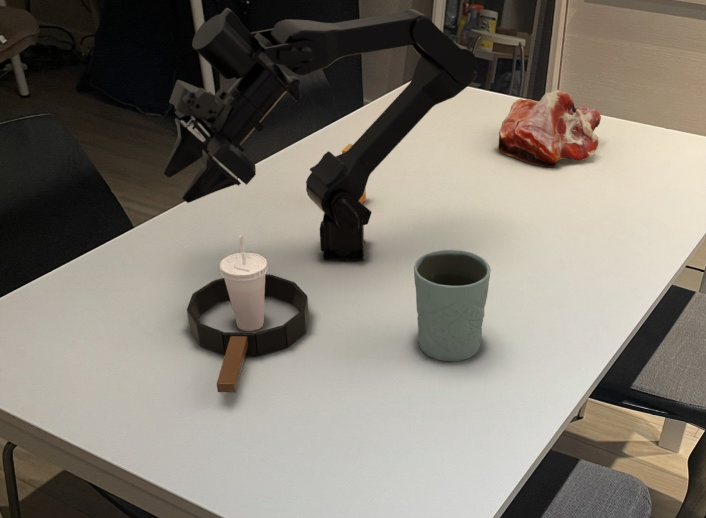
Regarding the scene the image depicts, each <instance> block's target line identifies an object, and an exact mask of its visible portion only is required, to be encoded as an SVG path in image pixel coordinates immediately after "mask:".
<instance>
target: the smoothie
mask: <svg viewBox="0 0 706 518" xmlns="http://www.w3.org/2000/svg"><path fill="white" fill-rule="evenodd" d="M238 238H239V245H240V252H237V253H232V254H230V255H227V256H225V257H223V258H222V260H221V261H220V262H219V272H220V275H221V276H222V278H224V279H225V283H226V286H227V290H228V294H229V297H230V300H229V301H230V303H231V308H232V311H233V316H234V319H235V322H236V325H237V328H238V329H239V330H241V331H245V332H253V331H257V330H259V329H261V328H263V327H264V322H265V297H266V296H265V274H267V272H268V270H269V266H268V262H267V259H266V258H265V257H264V256H262V255H261V254H258V253H256V252H246V246H245V245H246V244H245V237H244V234H239V235H238Z"/></svg>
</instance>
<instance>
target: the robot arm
mask: <svg viewBox="0 0 706 518" xmlns="http://www.w3.org/2000/svg"><path fill="white" fill-rule="evenodd" d="M191 45H192V48H193V49H194V50H195V51H196V53H198V54H199V55H200V56H201V57H202V58H203V59H204V60H205V61H206V62H207V63H208V64H209V65H210V66H211V67H212V68H213V69H215V71H216V72H218V73H219V74H220V75H221V77H223V79H225V80H231V79H236V81H235V83H233V85H232V86H231V87H230V88H229V90H228V91H227V90H226V89H225V88H224V87H223V88H219V89H218V90H217V91H216V93H213V92H212V91H211V90H210V91H207V90H205V89H204V88H203V87H197V86H195V85H193V84H190V83H188V82H186V81H183V80H180V79H177V80H176V82H175V85H174V87H173V91H172V94H171V96H170V99H169V104H170V105H173V106H174V110H175V111H174V114H175V115H176V116H177V117H178V118H179V119H180V120H179V119H178V118H177V117H175V119H174V123H175V125H176V131H177V138H176V141H175V143H174V146H173V148H172V151H171V153H170V156H169V157H168V160H167V162H166V164H165V168H163V169H164V170H163V172H162V173H163V175H164V176H166V177H167V178H169V179H170V178H172V177H174V176H175V175H177V174H179V173H181V172H182V171H183V170H185V169H186V168H188V167H189V166H190V165H192V164H194V163H195V162H197V161H199V160H200V159H201V158H202V165H201V167H200V168H199V170H198V171H197V173H196V175H195V176H194V177H193V178H192V180H191V182H189V185H188V186H187V187H186V189H185V190H184V192H183V194H182V196H181V199H182V200H183V201H184V202H185V203H187V204H190V203H191V202H194V201H197V200H199V199H202V198H204V197H206V196H209V195H211V194H213V193H216V192H218V191H222V190H224V189H228V188H230V187H233V186H235V185H236V186H237V187H239V186H240V185H241V184H242V183H243V184H244V185H246V186H247V185H248V184H249V183H250V182H251V181H252V180H253V179H254V177H256V173H257V171H256V164H255V163H254V162H253V161H252V160H251V159H250V157H248V156H247V155H246V153H244V152H245V147H243V146H242V145H243V143H244V142H245V141H246V140H247V138H248V137H250V135H251V134H252V133H253V131H254V130H256V131H257V132H259V133H261V131H262V130H263V129H264V128H265V126H264V125H263V124H262V123H261V122H262V121H263V120H264V118H265V117H266V116H267V115H268V114H269V113H270V112H271V111H272V109H273V108H274V107H275V106H276V105H277V103H279V101H280V100H281V99H282V98H283V97H284V96H285V94H286V95H288V96H289V97H291V98H292V99H293V100H294V101H295V102H301V92H300V84H301V80H299V78H297V77H295V76H294V75H290V76H289V75H287V74H286V73H285V72H284V71H283V70H282V68H280V67H279V65H280V66H283V67H286V68H287V69H288V70H289V71H291V72H292V73H293V74H295V75H298V76H307V75H310V74H313V73H315V72H318V71H321V70H323V69H326V68H328V67H329V66H330V65H332V64H333V63H335V62H336V61H338V60H339V59H343V58H345V57H350V56H356V55H362V54H367V53H373V52H378V51H383V50H384V51H385V50H390V49H396V48H400V47H407V46H411V47H412V49H413V50H414V51H415V52H416V53H417V54H418V55H419V56H420V57H419V59H418V60H417V63H416V65H415V69H414V71H413V75H412V78H411V80H410V82H409V83H408V85H407V86H406V87H405V88H404V89H403V90H402V91H401V93H399V95H397V97H396V98H395V99H394V100H393V101H392V102H391V103H390V104H389V105H388V106H387V107H386V108H385V110H384V111H382V113H381V114H380V115H379V116H378V117H377V118H376V119H375V120H374V122H372V123H371V125H370V126H369V127H368V128H367V129H366V130H365V131H364V133H362V135H360V136H359V138H358V139H357V140H356V141H355V142H354V143H352V147H351V148H350V149H349V150H348V151H346V152H345V153H343V154H342V153H340V154H338V155H334V154H333V153H332V152H331V151H330V150H329V151H327V152H326V153H324V154H323V155H322V157H321V159H320V160H319V161H318V162H317V164H315V165H313V166H312V167H310V168H309V171H310V174H309V175H308V177H307V178H306V181H305V184H306V185H305V191H306V194H307V196H308V197H309V199H310V200H311V201H312V202H313V204H315V205H316V207H318V208H319V210H321V211H322V212H323V217H322V220H321V221H320V224H319V240H320V241H319V243H320V245H319V247H320V251H321V252H322V259H323V260H324V261H345V262H346V261H349V262H351V261H352V262H363V261H364V260H365V249H366V240H365V226H367V225H369V222H370V219H371V215H372V211H371V209H369V208H368V207H367V206H366V205H365V204H364V203H361V202H360V201H359V200H360V199H361V197H362V196H363V194H364V191H365V188H366V187H367V184H368V181H369V178H370V176H371V174H372V173H373V172H374V171H375V170H376V169H377V168H378V166H379V165H381V163H382V162H383V161H384V160H385V159H386V158H387V157H388V156H389V154H391V152H392V151H394V149H395V148H396V147H397V146H398V145H399V144H400V143H401V142H402V141H403V140H404V139H405V138H406V136H408V134H409V133H410V132H411V131H412V130H414V128H415V127H416V126H417V125H418V123H419V122H421V120H422V119H423V118H424V117H425V116H426V115H427V114H428V113H429V112H430V111H431V110H432V109H433V108H434V107H435V106H436V105H439V104H441V103H444V102H446V101H448V100H451V99H453V98H455V97H456V96H458V95H459V94H460V93H461V92H463V91H464V90H465V89H466V88H468V87H469V86H470V85H471V84H472V83H473V81H474V80H475V79H476V77H477V74H478V72H477V69H478V61H477V57H476V55H475V54H474V53H473V52H472V50H470V49H468V48H466V47H465V46H462V45H460V44H459V43H458V42H457V43H456V42H455V41H453V40H452V39H451V38H450V37H449V36H447V34H445V33H444V32H443V31H442V30H441V29H440V28H439V27H438V26H437V25H436V24H435V23H434V22H433V20H432V19H431V18H430V16H428V15H426V14H424V13H422V12H420V11H418V10H416V9H413V8H409V9H406V10H403V11H402V12H395V13H394V12H393V13H389V14H382V15H377V16H376V15H375V16H370V17H364V18H358V19H351V20H344V21H339V22H322V21H321V22H320V21H316V20H309V19H290V18H289V19H287V18H286V19H283V20H280V21H278V22H276V23H275V24H274V27H273V28H268V29H263V30H257V31H250V30H249V29H248V28H247V27H246V26H245V25H244V24H243V23H242V21H241V19H240V18H239V16H237V14H235V12H234V11H233V10H231V9H230V8H228V7H226V8H224V10H223V11H222V12H221V13H218V14H216V15H214V16H212V17H211V18H209V19H208V20H207V21H203V23H202V24H201V25H200V26H199V28H198V29H197V30H196V32H195V34H194V36H193V39H192V43H191ZM261 54H262V55H263V56H264V57H266V58H267V59H268V60H269V61H271V62H269V63H265V62H264V61H263V60H262V59H261V58H260V57H259V56H260V55H261ZM206 142H207V143H208V145H207V143H206ZM209 153H210V154H211V155H210V154H209ZM366 189H367V188H366Z"/></svg>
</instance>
